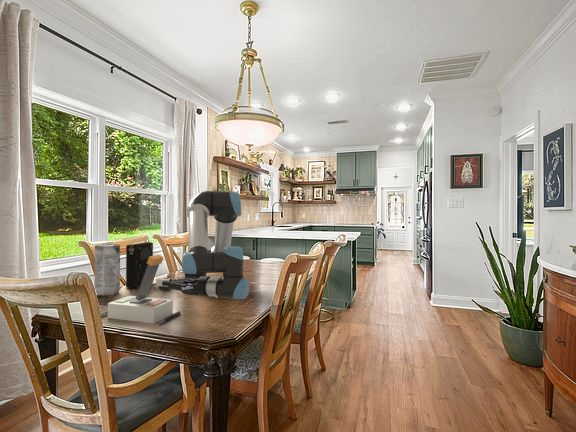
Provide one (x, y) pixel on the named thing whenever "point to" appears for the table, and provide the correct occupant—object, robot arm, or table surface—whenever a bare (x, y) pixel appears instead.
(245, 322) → the table surface
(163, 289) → the kendama
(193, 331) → the table surface
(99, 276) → the juice carton
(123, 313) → the breaker housing
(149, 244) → the voltmeter
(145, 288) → the lever
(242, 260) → the robot arm
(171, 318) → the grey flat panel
